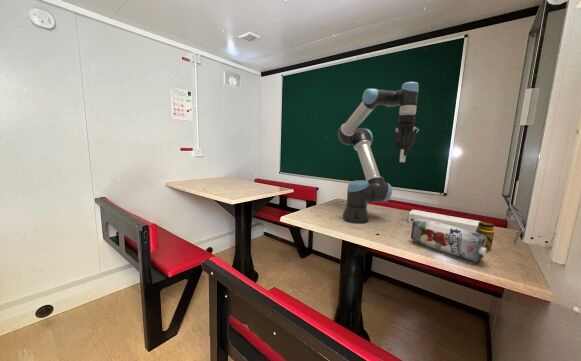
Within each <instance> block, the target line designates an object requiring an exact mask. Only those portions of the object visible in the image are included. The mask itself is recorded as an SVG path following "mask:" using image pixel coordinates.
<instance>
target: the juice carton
mask: <svg viewBox="0 0 581 361" xmlns="http://www.w3.org/2000/svg"><path fill="white" fill-rule="evenodd" d="M410 238H411V240H413V241H414V242H415V243H416V242H418V243H421V244H424V245H426V246H429V247H432V248H435V249H438V250H441V251H444V252H447V253H449V254H452V255H455V256H458V257H461V258H464V259H467V260H471V261H474V262H476V263H477V262H479V261H480V260H481V259H482V258H484V256H486V254H487V252H486V250H487V249H486V248H484V246H485V243H486V239H487V236H486V235H483V234H479V233H476V232H473V231H469V230H465V229H461V228H458V227H454V226H450V225H446V224H442V223H439V222H435V221H431V220H425V219H419V220H417V221H413V223H412V227H411V233H410Z"/></svg>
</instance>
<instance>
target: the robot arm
mask: <svg viewBox="0 0 581 361" xmlns="http://www.w3.org/2000/svg"><path fill="white" fill-rule="evenodd" d="M419 87H420V86H419V83H418V82H417V81H407V82H404V83H403V84H401V89H398V90H389V89H388V90H387V89H381V88H380V89H378V88H366V89H365V90H364V91H363V94H362V95H361V96H362V97H361V99H362V101H361V102H360V104H359V105H358V106H357V107H356V109H355V110H354V112H352V114H351V115H350V116H349V118H348V119H347V121H346V122H344V123H342V124H341V126H340V127H339V129H338V131H337V136H338V137H337V138H338V140H339V142H340V143H342V144H343V145H345V146H353V149H354V151H356V152H357V155H358V158H359V161H360V164H361V167H362V170H363V174H364V177H365V179H364V180H352V181H350V182H349V183H348V185H347V191H346V192H347V194H346V195H347V196H346V205H345V206H346V207H345V209H344V210H343V213H342V219H343V221H346V222H347V223H348V222H349V223H354V224H367V223H369V221H370V216H369V212H368V209H367V208H368V203H384V202H388V201H389V200H390V199H391V197H392V192H393V187H392V185H391V184H390V183H389V182H385V178H384V177H382V176H381V175H380V172H379V169H378V166H377V162H376V160H375V158H374V157H375V156H374V154H373V152H372V147H371V145H372V143H373V139H374V136H373V133H372V131H371V130H370V129H368V128H365V127H364V128H363V127H362V128H359V127H360V125H361V124H362V123H363V122H364V121H365V119H366V118H367V117H368V116H369V115H370V114H371V112H372V111H374V109H375V108H377V106H386V107H387V108H391V107H392V108H395V107H397V106H399V114H398V115H399V116H398V124H397V127H396V128H394V129H392V132H393V135H394V142H395V148H396V149H398V156H399V163H406V157H407V156H408V153H409V149H412V148H413V145H414V143H415V141H416V139H417V138H416V137H417V134H418V133H419V132H420V129H419V128H418V127H416V124H415V122H416V114H417V108H418V104H417V103H418V97H419V90H420V89H419Z"/></svg>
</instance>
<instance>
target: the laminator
mask: <svg viewBox="0 0 581 361" xmlns="http://www.w3.org/2000/svg"><path fill="white" fill-rule="evenodd" d="M418 218H419V219H425V220H431V221H435V222H439V223H442V224H446V225H450V226H454V227H458V228H461V229H465V230H469V231H473V232H476V229H477V227H478V224H479V222H482V221H480V220H477V219H476V220H475V219H469V218H463V217H457V216H454V215H453V216H451V215H446V214H440V213H435V212H430V211H429V212H428V211H423V210H418V209H411V210H410V211H409V212H408V213H407V222H408V224H413V221H417V220H418Z"/></svg>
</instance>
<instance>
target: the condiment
mask: <svg viewBox="0 0 581 361" xmlns="http://www.w3.org/2000/svg"><path fill="white" fill-rule="evenodd" d="M494 227H495V225H494V223H491V222H487V221H481V222H479V224H478V227H477V229H476V233H479V234H483V235H486V236H487V239H486V243H485V246H484V248H486V249H487V250H486V253H490V254H495V252H494V250H492V246H493V241H494V235H495V231H494V229H495V228H494Z"/></svg>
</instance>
